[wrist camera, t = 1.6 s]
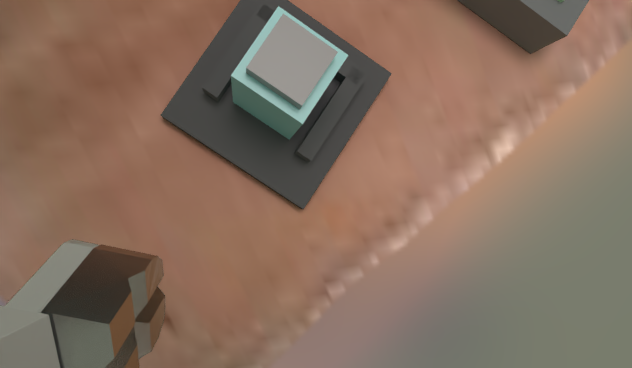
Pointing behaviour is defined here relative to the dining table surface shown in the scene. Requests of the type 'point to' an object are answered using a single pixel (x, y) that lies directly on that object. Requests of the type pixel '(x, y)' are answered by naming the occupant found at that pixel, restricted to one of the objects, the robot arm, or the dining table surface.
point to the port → (529, 19)
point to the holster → (255, 136)
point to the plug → (285, 73)
